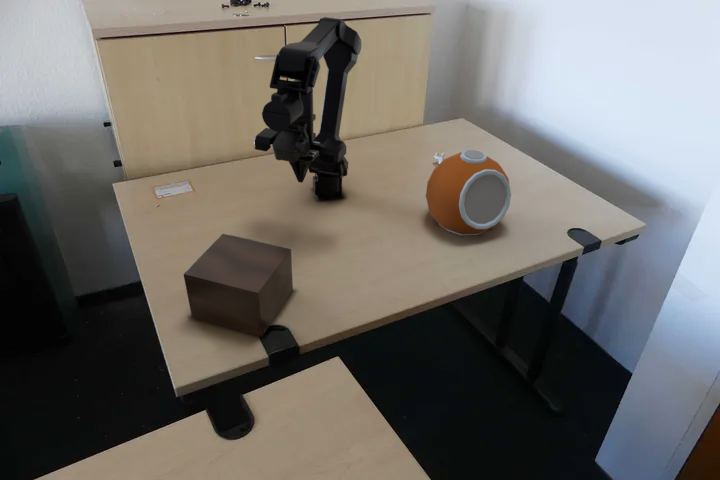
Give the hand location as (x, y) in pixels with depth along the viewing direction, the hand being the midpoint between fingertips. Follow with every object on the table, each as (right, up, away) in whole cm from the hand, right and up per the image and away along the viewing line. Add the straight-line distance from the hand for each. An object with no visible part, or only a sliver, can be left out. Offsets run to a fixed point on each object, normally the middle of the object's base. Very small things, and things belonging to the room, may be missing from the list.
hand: (300, 181), depth 117 cm
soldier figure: (+36, +6, +32) cm, 49 cm away
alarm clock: (+37, -8, +12) cm, 40 cm away
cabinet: (-9, -25, -15) cm, 30 cm away
